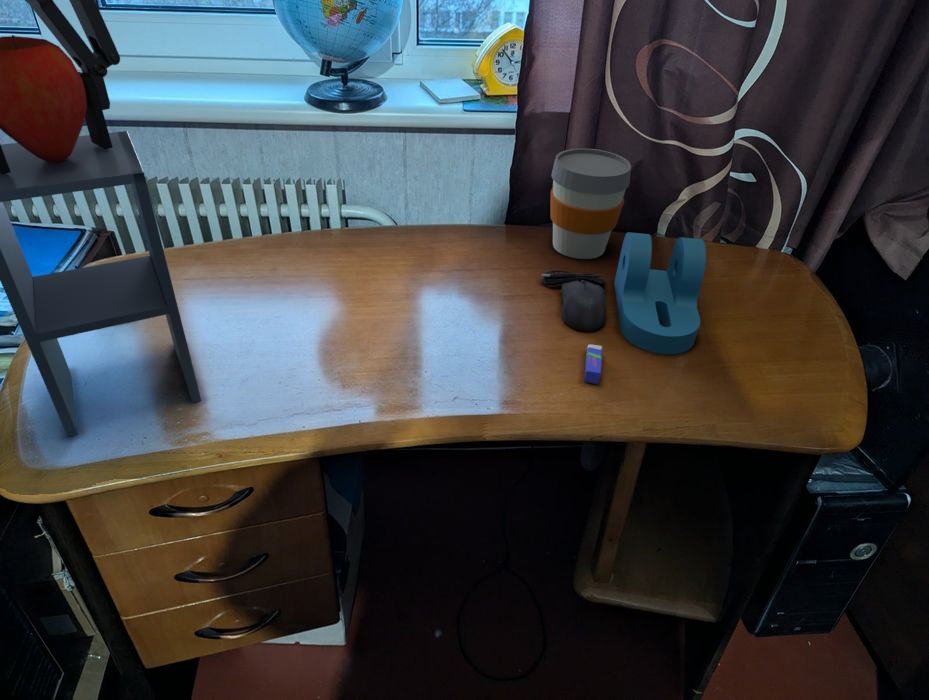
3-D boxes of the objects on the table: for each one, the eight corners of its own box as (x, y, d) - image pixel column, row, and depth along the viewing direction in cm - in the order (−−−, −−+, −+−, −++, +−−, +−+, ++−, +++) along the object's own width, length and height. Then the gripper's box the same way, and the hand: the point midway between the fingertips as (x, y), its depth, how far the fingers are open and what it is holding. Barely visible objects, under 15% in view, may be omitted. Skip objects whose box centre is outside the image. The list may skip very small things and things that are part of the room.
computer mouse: (549, 331, 92) (553, 308, 90) (539, 278, 104) (542, 257, 102) (621, 334, 93) (626, 311, 90) (602, 280, 104) (607, 259, 102)
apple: (-13, 157, 62) (-63, 31, 55) (80, 137, 67) (44, 20, 60) (23, 184, 57) (-26, 51, 51) (120, 161, 62) (86, 37, 56)
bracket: (614, 282, 104) (627, 221, 98) (681, 289, 103) (699, 228, 97) (622, 349, 90) (638, 283, 83) (700, 358, 89) (722, 292, 83)
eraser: (600, 357, 88) (603, 345, 87) (598, 385, 83) (601, 372, 82) (585, 355, 88) (588, 343, 87) (583, 382, 84) (585, 370, 82)
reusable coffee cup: (630, 250, 113) (649, 166, 104) (581, 272, 106) (597, 183, 97) (575, 223, 120) (589, 142, 112) (527, 242, 114) (537, 157, 105)
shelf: (201, 400, 77) (143, 171, 61) (67, 437, 72) (-37, 195, 55) (182, 345, 86) (127, 130, 69) (61, 374, 80) (-32, 147, 63)
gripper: (76, -142, 57) (141, 122, 70) (-252, -155, 43) (-94, 175, 57) (120, -138, 53) (179, 140, 67) (-224, -150, 40) (-63, 201, 53)
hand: (53, 156), depth 62 cm, fingers closed on apple, 8 cm apart
